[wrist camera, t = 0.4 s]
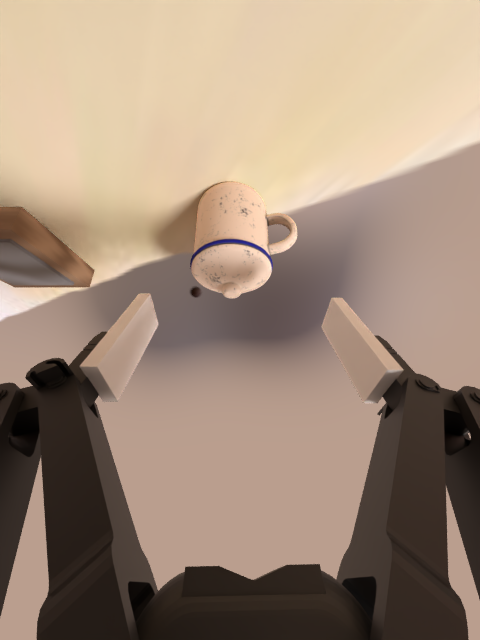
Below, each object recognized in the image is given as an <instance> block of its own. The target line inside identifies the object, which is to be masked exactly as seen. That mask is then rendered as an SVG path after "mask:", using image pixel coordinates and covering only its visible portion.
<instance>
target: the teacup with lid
mask: <svg viewBox="0 0 480 640" xmlns="http://www.w3.org/2000/svg"><path fill="white" fill-rule="evenodd" d="M273 224H282V225H284V226H286V227H287V228H288V229H289V230H290V234H289V235H288V237H287V238H285V239H284V240H282V241H280V242H277V243H273V244H269V240H268V228H267V226H269V225H273ZM296 239H297V227H296V224H295V222H294V221H293V220H292V219H291V218H290V217H289V216H287V215H285V214H281V213H275V214H270V215H267V214H266V207H265V203H264V201H263V199H262V197H261V196H260V195H259V194H258V193H257V192H256V191H255V190H254V189H253V188H251V187H249V186H247V185H245V184H242V183H238V182H224V183H220V184H217V185H215V186H213V187H211V188H210V189H209V190H207V191H206V192H205V193H204V195H203V196H202V197H201V199H200V202H199V205H198V211H197V222H196V233H195V244H194V254H193V256H192V259H191V263H190V265H191V266H190V267H191V270H192V273H193V276H194V277H195V279H196V280H197V281H198V282H199V283H200V284H201V285H202V286H204V287H206V288H208V289H210V290H213V291H216V292H220V293H223V295H224V296H225V297H227V298H236V297H238V296H239V295H240V294H241V293H245V292H249V291H252V290H254V289H256V288H259V287H260V286H262V285H263V284H264V283H265V282H266V281H267V280H268V279H269V277H270V275H271V271H272V267H273V264H272V259H271V257H270V255H271V254H276V253H280V252H283V251H285V250H287V249H289V248H290V247H291V246H292V245H293V244H294V243H295V241H296Z"/></svg>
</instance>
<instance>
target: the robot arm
mask: <svg viewBox="0 0 480 640" xmlns="http://www.w3.org/2000/svg"><path fill="white" fill-rule="evenodd" d="M157 326H158V321H157V317H156V313H155V310H154V306H153V302H152V298H151V295H150V294H139V295H138V296H137V297H136V298H135V300H134V301H133V302H132V303H131V305H130V306H129V307H128V308H127V309H126V311H125V312H124V313H123V314H122V315H121V316H120V318H119V319H118V320H117V321H116V323H115V324H114V325H113V326H112V327H111V329H110V330H109V331H108V332H101V333H100V334H98V335H97V336H95V337H94V338H93V339H92V340H91V341H90V342H89V343H88V345H87V346H86V347H85V348H84V349H83V351H81V352H80V354H79V355H78V356H77V357H76V358H75V359H74V360H73V362H72V363H71V364H70V365H69V366H68V365H67V364H66V362H65V361H64V359H60V358H52V359H49V360H46V361H43V362H41V363H39V364H37V365H36V366H34V367H33V368H31V369H30V371H29V372H28V373H27V375H26V379H27V380H28V381H29V382H30V383H31V384H32V385H33V386H30V387H26V388H22V389H20V388H19V387H18V386H17V385H16V384H14V383H4V384H0V616H1V612H2V608H3V604H4V600H5V596H6V592H7V588H8V584H9V580H10V576H11V572H12V568H13V564H14V560H15V556H16V552H17V548H18V544H19V540H20V536H21V532H22V528H23V524H24V520H25V516H26V513H27V509H28V505H29V501H30V497H31V493H32V488H33V485H34V480H35V477H36V473H37V468H38V465H39V461H40V457H41V461H42V477H43V492H44V509H45V526H46V541H47V558H48V572H49V592H48V596H47V598H46V600H45V602H44V603H43V605H42V607H41V609H40V613H39V617H38V621H37V640H468V627H467V619H466V613H465V609H464V607H463V604H462V602H461V599H460V598H459V596H458V595H457V594H456V593H455V591H454V590H453V589H452V588H451V585H450V583H449V578H448V554H447V516H446V486H447V490H448V493H449V496H450V500H451V503H452V507H453V510H454V513H455V517H456V520H457V524H458V527H459V530H460V534H461V537H462V541H463V544H464V547H465V551H466V554H467V558H468V561H469V564H470V568H471V571H472V575H473V578H474V582H475V585H476V588H477V592H478V595H479V599H480V389H477V388H475V387H469V386H464V387H462V388H461V389H460V390H459V391H458V392H456V391H452V390H448V389H444V388H441V387H440V386H439V385H438V384H437V383H436V382H435V381H433V380H432V379H430V378H428V377H426V376H423V375H421V374H416V373H415V372H414V371H413V370H412V369H411V368H410V367H409V366H408V365H407V364H406V362H405V361H404V360H403V359H402V358H401V357H400V356H399V355H398V354H397V352H396V351H395V350H394V349H392V347H391V346H390V345H389V343H388V342H387V341H385V340H384V339H382V338H381V337H380V336H374V335H373V334H372V332H370V330H369V329H368V328H367V327H366V326H365V324H364V323H363V322H362V321H361V320H360V319H359V317H358V316H357V315H356V314H355V313H354V311H353V310H352V309H351V308H350V307H349V306H348V304H347V303H346V302H345V301H344V300H343V299H342V298H332V299H331V301H330V304H329V307H328V310H327V313H326V315H325V318H324V321H323V324H322V329H323V331H324V333H325V335H326V337H327V338H328V340H329V342H330V344H331V346H332V347H333V349H334V351H335V353H336V355H337V356H338V358H339V360H340V362H341V363H342V365H343V367H344V369H345V371H346V372H347V374H348V376H349V378H350V380H351V382H352V383H353V385H354V387H355V389H356V391H357V392H358V394H359V396H360V397H361V400H362V401H363V403H378V402H379V400H380V399H381V397H383V398H384V399H385V401H386V402H387V403H386V404H385V405H384V406H383V407H382V409H381V410H380V411H379V412H378V415H380V414H381V413H382V415H381V420H380V424H379V428H378V432H377V437H376V441H375V445H374V449H373V453H372V457H371V461H370V465H369V469H368V473H367V478H366V482H365V486H364V490H363V494H362V498H361V502H360V507H359V511H358V515H357V519H356V523H355V527H354V532H353V535H352V540H351V543H350V545H349V548H348V549H347V551H346V553H345V554H344V556H343V559H342V562H341V564H340V568H339V571H338V576H337V579H334V578H333V577H332V576H330V575H328V574H327V573H325V572H323V571H321V569H320V564H313V565H312V564H310V565H286V566H283V567H281V568H278V569H276V570H274V571H271V572H269V573H267V574H265V575H263V576H261V577H259V578H257V579H255V580H251V579H248V578H246V577H244V576H241V575H239V574H236V573H234V572H232V571H229V570H226V569H224V568H222V567H220V566H200V567H185V572H183V573H181V574H179V575H177V576H176V577H174V578H173V579H171V580H170V581H169V582H167V584H165V585H164V586H163V587H162V588H161V589H160V590H159V591H158V590H157V586H156V583H155V580H154V577H153V574H152V571H151V568H150V565H149V563H148V560H147V558H146V556H145V555H144V553H143V551H142V549H141V547H140V543H139V540H138V537H137V534H136V531H135V527H134V524H133V521H132V518H131V514H130V512H129V508H128V505H127V502H126V498H125V495H124V492H123V489H122V485H121V483H120V479H119V476H118V472H117V469H116V466H115V463H114V459H113V456H112V453H111V450H110V446H109V443H108V440H107V437H106V433H105V430H104V427H103V424H102V420H101V417H100V414H99V411H98V408H97V405H96V403H95V400H96V398H97V397H98V395H99V396H100V397H101V399H102V400H103V401H106V402H107V401H108V402H109V401H110V402H114V401H115V402H117V401H119V398H120V397H121V395H122V393H123V391H124V389H125V387H126V385H127V383H128V382H129V380H130V378H131V376H132V374H133V372H134V370H135V368H136V366H137V364H138V362H139V361H140V359H141V357H142V355H143V353H144V351H145V349H146V347H147V345H148V343H149V341H150V339H151V338H152V336H153V334H154V332H155V330H156V328H157ZM469 432H470V434H471V439H470V438H469V435H468V433H469Z"/></svg>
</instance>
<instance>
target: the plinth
mask: <svg viewBox="0 0 480 640" xmlns="http://www.w3.org/2000/svg"><path fill="white" fill-rule="evenodd" d="M93 274H94V270H93V269H92V268H91V267H90V266H89V265H88V264H87V263H85V262H84V261H83V260H82V259H81V258H80V257H78V256H77V255H76V254H75V253H74V252H73V251H72V250H70V249H69V248H68V247H67V246H66V245H65V244H64V243H62V242H61V241H60V240H59V239H58V238H57V237H56V236H54V235H53V234H52V233H51V232H50V231H49V230H47V229H46V228H45V227H44V226H43V225H42V224H41V223H39V222H38V221H37V220H36V219H35V218H34V217H33V216H31V215H30V214H29V213H28V212H27V211H26V210H25V209H23V208H22V207H0V280H1V281H3V282H5V283H7V284H9V285H11V286H13V287H90V284H91V280H92V277H93Z"/></svg>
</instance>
